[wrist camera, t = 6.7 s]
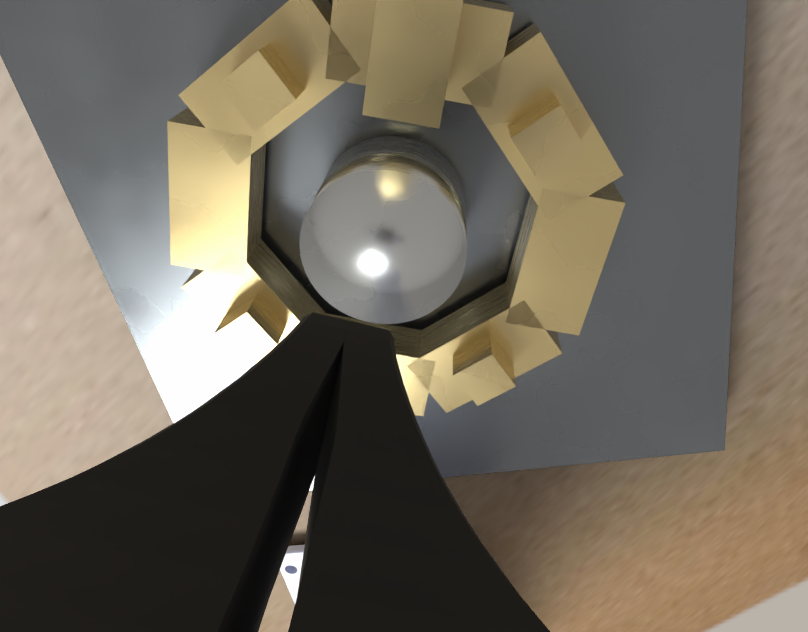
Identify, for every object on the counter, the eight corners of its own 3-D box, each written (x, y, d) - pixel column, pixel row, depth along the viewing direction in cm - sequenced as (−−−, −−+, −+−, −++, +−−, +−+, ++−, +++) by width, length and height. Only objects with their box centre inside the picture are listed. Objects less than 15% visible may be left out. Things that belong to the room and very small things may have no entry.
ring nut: (538, 405, 21) (554, 499, 17) (191, 345, 21) (137, 429, 17) (734, -180, 13) (831, -217, 10) (186, -285, 13) (88, -361, 10)
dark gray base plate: (712, 426, 23) (758, 515, 19) (220, 477, 26) (182, 562, 22) (742, -364, 13) (844, -468, 10) (-58, -140, 16) (-201, -158, 12)
